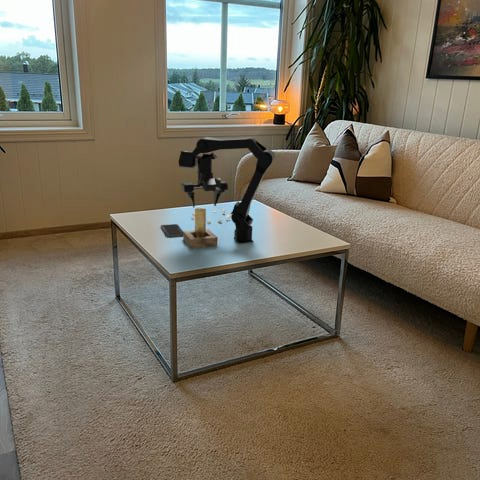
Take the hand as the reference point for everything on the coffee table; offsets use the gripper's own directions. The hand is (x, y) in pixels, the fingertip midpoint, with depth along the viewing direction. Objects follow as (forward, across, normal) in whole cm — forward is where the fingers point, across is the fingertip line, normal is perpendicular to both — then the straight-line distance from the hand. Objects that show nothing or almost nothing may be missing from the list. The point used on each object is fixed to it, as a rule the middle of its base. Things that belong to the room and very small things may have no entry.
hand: (204, 206), depth 195 cm
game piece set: (+14, +12, +25) cm, 31 cm away
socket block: (+13, -4, -7) cm, 15 cm away
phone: (+14, -11, +10) cm, 20 cm away
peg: (+13, -4, -7) cm, 15 cm away
